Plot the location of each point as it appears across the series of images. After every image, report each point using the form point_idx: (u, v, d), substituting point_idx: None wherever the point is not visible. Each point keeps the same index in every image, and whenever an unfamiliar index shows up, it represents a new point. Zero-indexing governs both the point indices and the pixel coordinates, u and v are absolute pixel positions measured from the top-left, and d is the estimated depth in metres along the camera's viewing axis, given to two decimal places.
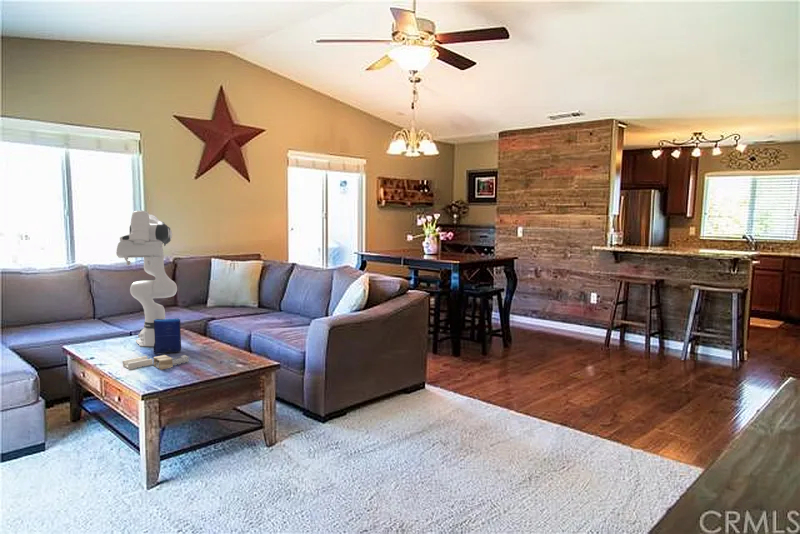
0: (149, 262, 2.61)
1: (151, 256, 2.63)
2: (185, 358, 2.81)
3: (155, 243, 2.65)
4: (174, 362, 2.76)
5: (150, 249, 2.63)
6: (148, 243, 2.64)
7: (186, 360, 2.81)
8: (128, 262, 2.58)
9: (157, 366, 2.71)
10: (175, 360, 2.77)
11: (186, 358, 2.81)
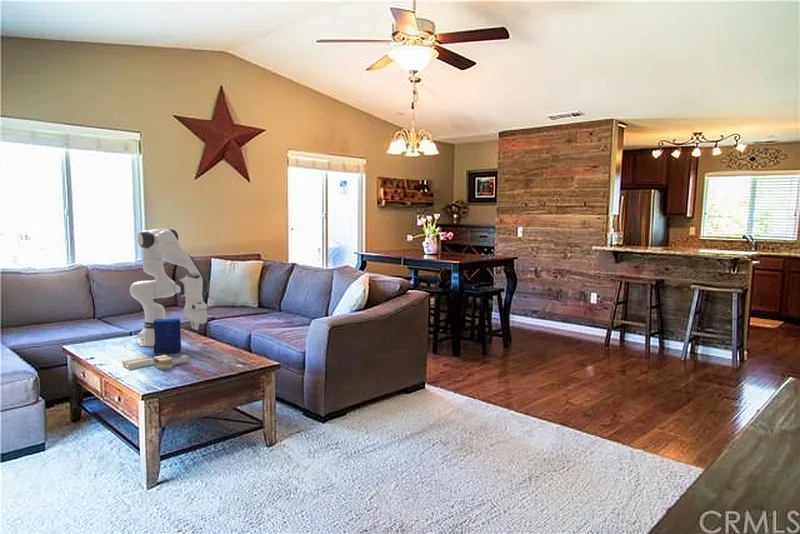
0: None
1: None
2: (185, 357, 2.81)
3: None
4: (174, 362, 2.76)
5: None
6: None
7: (186, 360, 2.82)
8: None
9: (156, 366, 2.72)
10: (175, 360, 2.77)
11: (186, 358, 2.82)
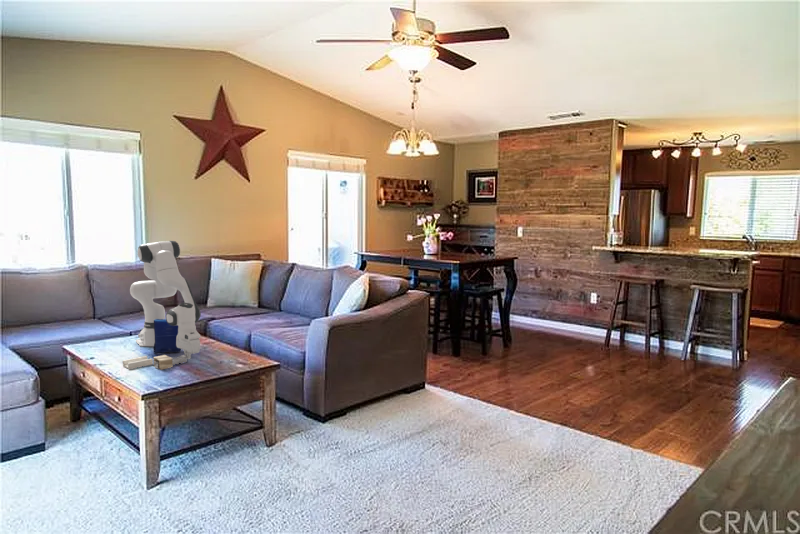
0: None
1: None
2: (184, 357, 2.81)
3: None
4: (173, 362, 2.76)
5: None
6: None
7: (184, 360, 2.81)
8: None
9: (155, 366, 2.71)
10: (173, 360, 2.76)
11: (184, 358, 2.81)
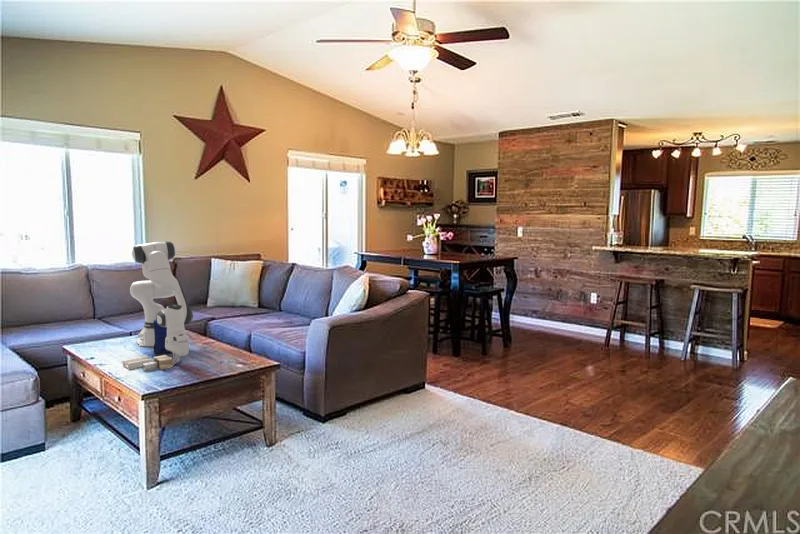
0: None
1: None
2: (173, 360, 2.76)
3: None
4: None
5: None
6: None
7: (174, 363, 2.77)
8: None
9: (143, 368, 2.67)
10: None
11: (174, 361, 2.77)
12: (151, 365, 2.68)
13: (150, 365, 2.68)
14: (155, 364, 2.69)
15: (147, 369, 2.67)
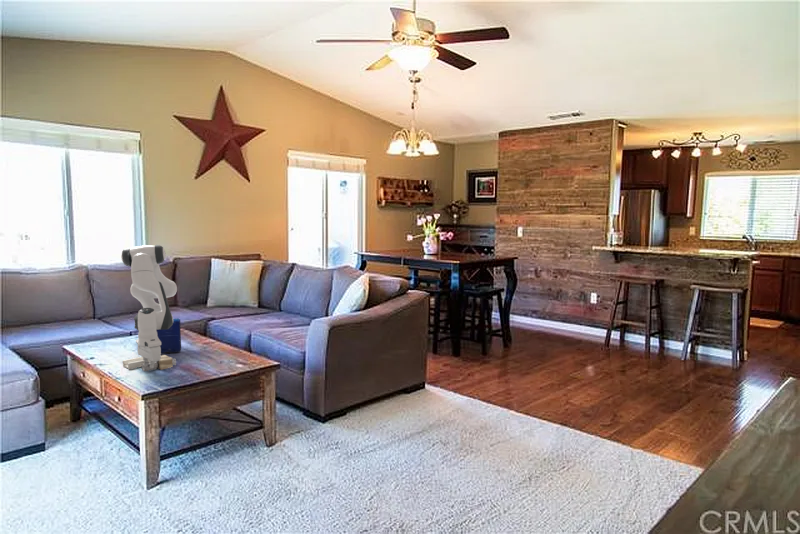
0: None
1: None
2: (173, 360, 2.76)
3: None
4: None
5: None
6: None
7: (173, 363, 2.76)
8: None
9: (142, 368, 2.67)
10: None
11: (173, 361, 2.76)
12: None
13: None
14: (154, 364, 2.69)
15: (146, 369, 2.66)
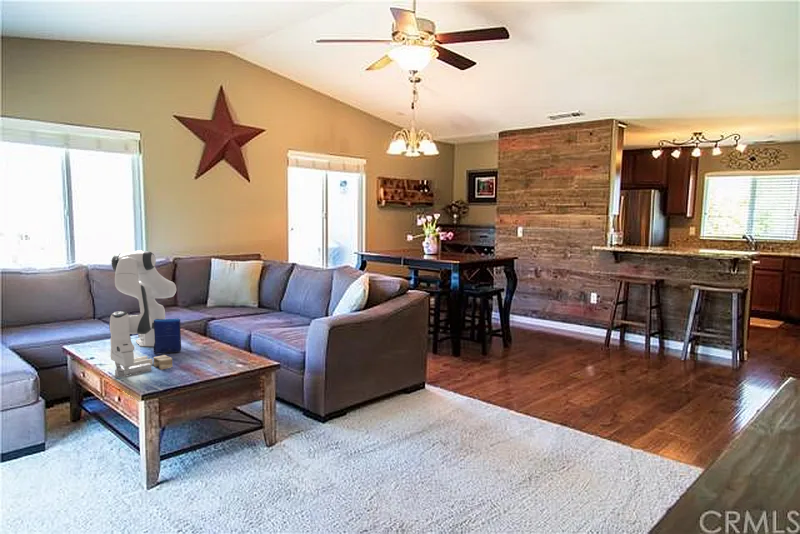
0: None
1: None
2: (148, 366, 2.66)
3: None
4: (135, 370, 2.62)
5: None
6: None
7: (149, 368, 2.67)
8: None
9: (116, 374, 2.57)
10: (136, 368, 2.62)
11: (149, 366, 2.67)
12: None
13: None
14: (129, 370, 2.59)
15: (120, 375, 2.57)
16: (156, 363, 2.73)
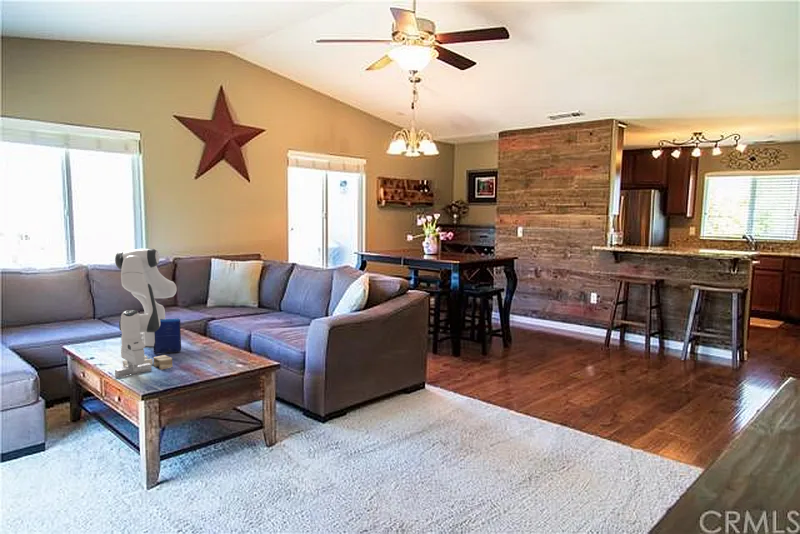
0: None
1: None
2: (148, 366, 2.66)
3: None
4: None
5: None
6: None
7: (149, 368, 2.67)
8: None
9: (116, 374, 2.57)
10: None
11: (149, 366, 2.67)
12: (124, 371, 2.58)
13: (123, 371, 2.58)
14: (129, 370, 2.59)
15: (120, 375, 2.57)
16: (156, 363, 2.73)
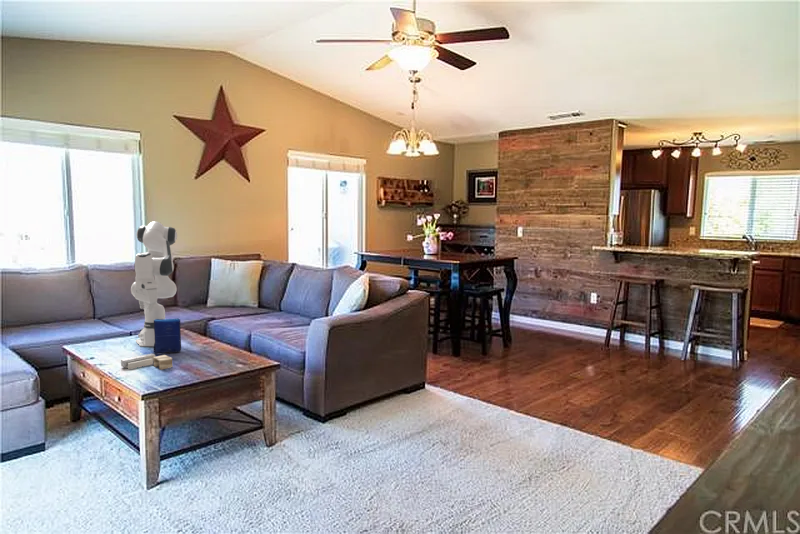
0: None
1: None
2: (152, 356, 2.79)
3: None
4: (140, 360, 2.75)
5: None
6: None
7: None
8: None
9: (121, 364, 2.71)
10: (141, 358, 2.75)
11: (153, 356, 2.80)
12: (130, 361, 2.71)
13: (129, 361, 2.71)
14: (134, 360, 2.72)
15: (126, 365, 2.70)
16: (156, 363, 2.73)
